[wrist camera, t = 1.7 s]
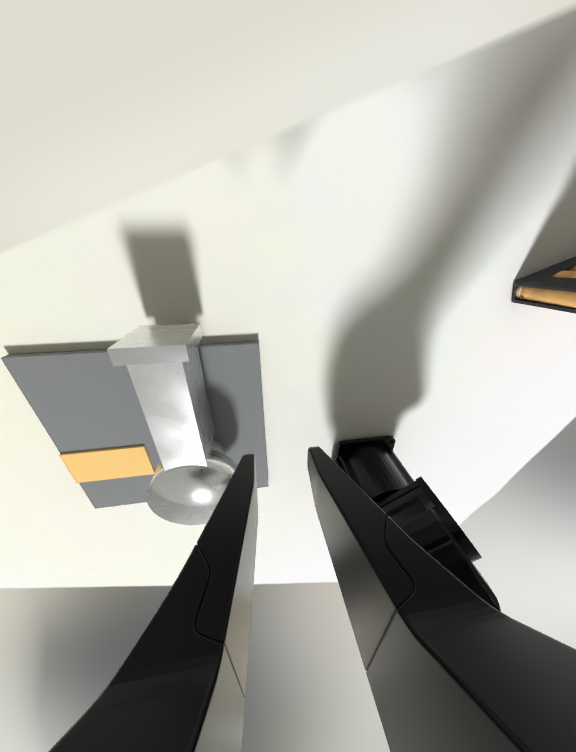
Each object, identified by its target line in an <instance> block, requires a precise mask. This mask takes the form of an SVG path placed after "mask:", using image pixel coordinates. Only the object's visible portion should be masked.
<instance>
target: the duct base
mask: <svg viewBox="0 0 576 752" xmlns="http://www.w3.org/2000/svg"><path fill="white" fill-rule="evenodd" d="M198 351H199V356H200V361H201V366H202V371H203V376H204V381H205V386H206V391H207V396H208V401H209V406H210V411H211V416H212V422H213V427H214V432H215V433H214V438H213V444H212V449H213V450H216V451H219V452H221V453H224V454H225V455H227V456H228V457H230V458H231V459H232V460H233V461H234V462H235V463H236V465H237V466H238V464H239V462H240V460H241V458H242V456H243V455H245V454H254V455H255V464H256V477H257V488H260V487H268V472H267V458H266V443H265V429H264V415H263V400H262V386H261V371H260V357H259V343H258V341H254V342H236V343H217V344H199V345H198ZM1 359H2V361H3V362H4V364H5V366H6V367H7V369H8V370H9V372H10V374H11V375H12V377H13V378H14V380H15V382H16V383H17V385H18V386H19V388H20V390H21V391H22V393H23V394H24V396H25V398H26V399H27V401H28V402H29V404H30V405H31V407H32V409H33V410H34V412H35V413H36V415H37V417H38V418H39V420H40V421H41V423H42V425H43V426H44V428H45V429H46V431H47V433H48V434H49V436H50V437H51V439H52V441H53V442H54V444H55V445H56V447H57V449H58V450H59V452H60V453H61V454H60V455H59V456H60V458H61V459H62V461H63V462H64V464H65V465H66V467H67V469H68V470H69V472H70V473H71V475H72V476H73V478H74V480H75V481H76V483H79V484H80V485H81V487H82V488H83V490H84V492H85V493H86V495H87V496H88V498H89V500H90V501H91V503H92V504H93V506H94V508H103V507H111V506H119V505H127V504H134V503H142V502H147V499H146V495H147V490H148V488H149V485H150V483H151V481H152V478H153V476H154V474H155V471H156V469H157V467H158V465H159V464H160V462H161V460H160V457H159V454H158V451H157V449H156V446H155V443H154V440H153V437H152V435H151V432H150V429H149V426H148V424H147V421H146V418H145V415H144V413H143V410H142V407H141V404H140V402H139V399H138V396H137V393H136V390H135V388H134V385H133V382H132V379H131V377H130V374H129V371H128V368H127V366H126V365H123V366H113V364H112V361H111V359H110V356H109V354H108V351H107V349H106V350H87V351H69V352H50V353H32V354H13V355H7V356H4V357H2V358H1Z"/></svg>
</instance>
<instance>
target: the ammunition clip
mask: <svg viewBox="0 0 576 752" xmlns="http://www.w3.org/2000/svg"><path fill="white" fill-rule="evenodd" d="M512 302H514V303H520V304H526V305H531V306H537V307H543V308H548V309H554V310H559V311H565V312H571V313H576V257H573V258H571V259H568V260H566V261H563V262H561V263H558V264H556V265H553V266H551V267H548V268H546V269H543V270H541V271H538V272H536V273H533V274H531V275H528V276H526V277H523V278H521V279H518V280H516V281H515V282H514V287H513V296H512Z"/></svg>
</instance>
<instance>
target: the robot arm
mask: <svg viewBox="0 0 576 752" xmlns="http://www.w3.org/2000/svg"><path fill="white" fill-rule="evenodd" d="M394 444H395V439H394V438H393V437H392V436H386V437H377V438H367V439H358V440H349V441H341V442H339V443H338V445H337V453H336V458H335V459H334V461H333V460H332V459H331V458H330V457H329V456H328V455H327V454H326V453H325V452H324V451H323V450H322V449H321V448H320V447H310V448H309V449H308V471H309V476H310V481H311V487H312V492H313V497H314V502H315V507H316V511H317V514H318V518H319V521H320V524H321V527H322V531H323V534H324V537H325V540H326V544H327V547H328V550H329V553H330V557H331V560H332V563H333V566H334V570H335V573H336V576H337V579H338V582H339V586H340V589H341V592H342V595H343V598H344V602H345V605H346V608H347V612H348V615H349V618H350V621H351V625H352V628H353V631H354V634H355V638H356V641H357V644H358V647H359V651H360V654H361V657H362V660H363V664H364V667H365V670H366V671H367V672H366V673H367V677H368V680H369V683H370V687H371V690H372V693H373V696H374V700H375V703H376V706H377V709H378V712H379V716H380V719H381V722H382V726H383V729H384V732H385V735H386V739H387V742H388V745H389V748H390V752H576V649H574V648H572V647H570V646H568V645H565V644H563V643H561V642H559V641H557V640H555V639H553V638H551V637H549V636H547V635H545V634H543V633H541V632H539V631H537V630H534V629H532V628H530V627H528V626H526V625H524V624H522V623H520V622H518V621H516V620H514V619H512V618H510V617H508V616H507V615H505V614H503V613H502V612H501V610H500V606H499V603H498V600H497V598H496V596H495V595H494V593H493V592H492V590H491V588H490V587H489V585H488V584H487V582H486V581H485V580H484V578H483V577H482V576H481V574H480V573H479V571H478V570H477V568H476V567H475V566H474V564H473V563H472V562H473V561H476V560H478V559H480V558H482V557H481V556H480V554H479V553H478V551H477V550H476V549H475V547H474V546H473V544H472V543H471V542H470V541H469V539H468V538H467V536H466V535H465V533H464V532H463V531H462V529H461V528H460V527H459V525H458V524H457V523H456V521H455V520H454V519H453V518H452V516H451V515H450V514H449V512H448V511H447V510H446V508H445V507H444V506H443V504H442V503H441V502H440V501H439V499H438V498H437V497H436V495H435V494H434V493H433V492H432V490H431V489H430V488H429V486H428V485H427V484H426V482H425V481H424V480H423V479H422V477H419V478H417V479H416V481H414V480H413V479H412V478H411V476H410V475H409V473H408V472H407V471H406V469H405V468H404V466H403V465H402V463H401V462H400V461H399V459H398V458H397V456H396V455H395V454H394V452H393V448H394ZM257 525H258V500H257V477H256V464H255V455H254V454H245V455H243V456H242V458H241V460H240V462H239V464H238V466H237V468H236V469H235V471H234V473H233V475H232V477H231V479H230V481H229V483H228V485H227V486H226V488H225V490H224V492H223V494H222V496H221V498H220V500H219V502H218V503H217V505H216V507H215V509H214V511H213V513H212V515H211V517H210V519H209V520H208V522H207V524H206V526H205V528H204V530H203V532H202V534H201V536H200V537H199V539H198V541H197V545H195V547H194V549H193V550H192V552H191V554H190V556H189V558H188V560H187V562H186V563H185V565H184V567H183V569H182V571H181V572H180V574H179V576H178V578H177V579H176V581H175V583H174V584H173V586H172V587H171V589H170V591H169V592H168V594H167V596H166V597H165V599H164V600H163V602H162V604H161V605H160V606H159V608H158V610H157V611H156V613H155V614H154V616H153V617H152V619H151V620H150V622H149V623H148V625H147V627H146V628H145V630H144V631H143V633H142V634H141V636H140V638H139V639H138V641H137V642H136V644H135V645H134V647H133V648H132V650H131V651H130V653H129V654H128V656H127V657H126V659H125V660H124V662H123V664H122V665H121V667H120V668H119V670H118V671H117V673H116V674H115V675H114V677H113V678H112V680H111V681H110V682H109V684H108V685H107V687H106V688H105V689H104V691H103V692H102V693H101V694H100V696H99V697H98V698H97V699H96V701H95V702H94V703H93V704H92V705H91V706H90V708H89V709H88V710H87V711H86V712H85V713H84V714H83V715H82V717H81V718H80V719H79V720H78V721H77V722H76V723H75V724H74V725H73V726H72V727H71V728H70V729H69V730H68V731H67V733H66V734H65V735H64V736H63V737H62V738H61V739H60V740H59V741H58V742H57V743H56V744H55V745H54V746H53V747H52V748H51V749H50V751H49V752H242V739H243V724H244V710H245V695H246V680H247V666H248V653H249V638H250V624H251V610H252V596H253V582H254V568H255V554H256V539H257Z"/></svg>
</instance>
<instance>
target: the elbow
mask: <svg viewBox="0 0 576 752" xmlns="http://www.w3.org/2000/svg"><path fill="white" fill-rule="evenodd" d="M202 337H203V335H202V329H201V324H200V323H193V324H171V325H148V326H139V327H138V328H137V329H135V330H134V331H132V332H131V333H129V334H128V335H126V336H125V337H123V338H122V339H120V340H119V341H118V342H116V343H115V344H113V345H112V346H110V347H109V348H107V351H108V354H109V356H110V359H111V361H112V364H113V366H123V365H126V366H127V368H128V371H129V374H130V377H131V379H132V382H133V385H134V388H135V390H136V393H137V396H138V399H139V402H140V404H141V407H142V410H143V413H144V415H145V418H146V421H147V424H148V426H149V429H150V432H151V435H152V437H153V440H154V443H155V446H156V449H157V451H158V454H159V457H160V460H161V462H160V464H159V465H158V467H157V469H156V471H155V474H154V476H153V478H152V481H151V483H150V485H149V488H148V490H147V495H146V499H147V503H148V505H149V507H150V508H151V510H152V511H153V512H154V513H155V514H157V515H158V516H159V517H161V518H163V519H165V520H168V521H170V522H174V523H178V524H185V525H198V524H205V523H207V522H208V520H209V519H210V517H211V515H212V513H213V511H214V509H215V507H216V505H217V503H218V502H219V500H220V498H221V496H222V494H223V492H224V490H225V488H226V486H227V485H228V483H229V481H230V479H231V477H232V475H233V473H234V471H235V469H236V468H237V465H236V463H235V462H234V461H233V460H232V459H231V458H230V457H228V456H227V455H225V454H224V453H221V452H219V451H216V450H213V449H212V444H213V438H214V433H215V432H214V427H213V422H212V416H211V411H210V406H209V401H208V396H207V391H206V386H205V381H204V376H203V371H202V366H201V361H200V356H199V351H198V345H199V343H200V341H201V339H202Z"/></svg>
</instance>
